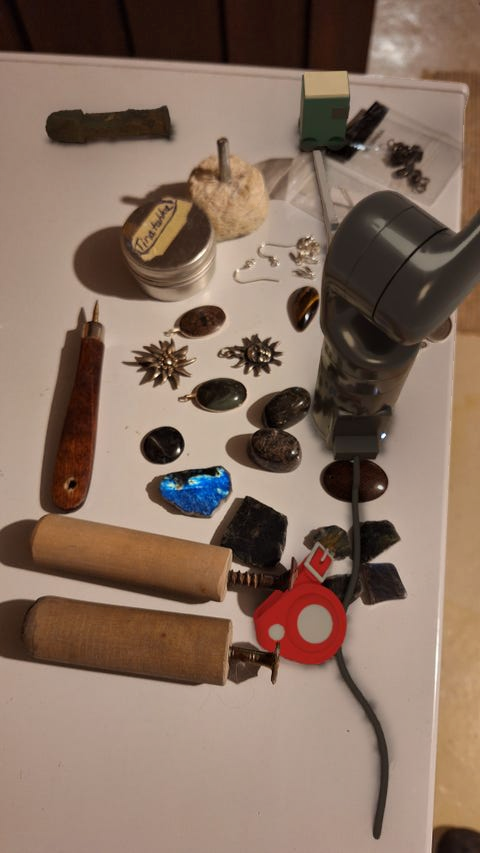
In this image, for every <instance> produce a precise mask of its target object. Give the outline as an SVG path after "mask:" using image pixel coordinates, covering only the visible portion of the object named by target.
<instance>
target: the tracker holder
mask: <svg viewBox="0 0 480 853" xmlns="http://www.w3.org/2000/svg"><path fill="white" fill-rule="evenodd" d="M329 551H330V549H329V548H328V547H326V548H325V547H324V546H323V545H322V544H321V543H320V542H319V541H316V542H315V543H314V545H313V547H312V548H311V551H310V552H309V553H308V554H307V555H306V556H305V558H304V559H303V560H302V562H300V564H299V565H298V566H297V567H298V577H297V578H296V580H295V582H294V584H293V588H292V589H291V590H290V591H288V589H287V590H286V591H285V592H284V593H283V592H282V591H280V590H276V589H275V590H274V591H273V592H272V593H271V594H270V595H268V597H267V598H266V599H265V600H264V601H262V602H261V604H259V606H257V608H256V610H255V611H254V612H253V615H252V619H253V620H252V622H253V627H254V633H255V638H256V642H257V644H258V645H259V647H260V648H262V650H265V651H267V652H268V653H270V654H273V653H272V652H274V651H275V648H276V643H277V642H280V653H279V655H278V656H279V657H281V658H283V659H286V660H288V661H290V662H295V663H298V664H304V665H309V666H310V665H312V666H313V665H314V666H315V665H319V664H323V663H325V662H327V661H329V660H331V659H332V658H333V657H334V656H336V655H335V654H336V653H337V651H338V649H339V647H342V645H343V643H344V641H345V638H346V636H347V634H346V633H347V630H348V629H347V628H348V621H347V613H346V614H345V610H344V608H343V605H342V601H341V600H340V599H339V597H338V596H337V595H336V594H335V592H333V591H332V590H330V588H328V587H325V586H323V585H322V583H324V581H325V580H326V578H327V575H328V574H329V572H330V570H331V568H332V566H333V564H334V562H335V558H334V557H333V556H332V555H331V553H330V552H329Z"/></svg>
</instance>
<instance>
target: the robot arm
mask: <svg viewBox="0 0 480 853" xmlns="http://www.w3.org/2000/svg"><path fill="white" fill-rule="evenodd" d="M478 5H479V6H480V2H479V4H478ZM479 283H480V206H479V207H478V209H477V211H476V212H475V214H474V215H473V216H472V217H471V219H470V221H469V222H468V223H466V225H465V226H464V227H463V228H462V229H461V230H460V231H458V232H456V231H454V230H452V229H451V228H450V227H449V226H447V225H446V224H444V223H443V222H442V221H440V220H439V219H437V218H436V217H435V216H433V215H432V214H430V213H429V212H427V211H426V210H425V209H424V208H422V207H421V206H419V205H418V204H417V203H415V202H414V201H413V200H411V199H409V198H408V197H406V196H405V195H404V194H402V193H400V192H398V191H395V190H391V189H384V190H378V191H375V192H372V193H371V194H370V193H369V195H367V196H365V197H363V198H362V199H360V201H358V202H357V203H356V204H355V205H354V206H353V207H351V209H350V210H349V211H348V212H347V213H346V214H345V216H344V217H343V218H342V220H341V221H340V222H339V226H338V228H337V230H336V231H335V234H334V236H333V238H332V240H331V242H330V245H329V247H328V250H327V249H326V253H325V257H324V261H323V267H322V272H321V280H320V300H319V301H320V302H319V317H318V318H319V320H318V321H319V322H318V323H319V327H320V331H321V333H322V335H323V339H322V345H321V350H320V356H319V362H318V368H317V374H316V380H315V387H314V393H313V398H312V402H311V407H310V418H311V422H312V425H313V427H314V429H315V431H316V432H317V433H318V435H319V436H320V437H321V438H322V439H323V440H324V441H325V448H326V449H328V450H332V455H333V461H352V474H353V476H352V477H353V478H352V487H351V514H352V530H353V531H352V532H353V555H352V556H353V558H352V568H351V575H350V578H349V581H348V582H349V583H348V585H347V589H346V592H345V594H344V597H343V600H342V601H341V603H342V605H343V608H344V610H345V614H346V615H347V612H348V609H349V606H350V603H351V600H352V598H353V595H354V592H355V590H356V586H357V584H358V578H359V574H360V568H361V567H360V566H361V526H360V525H361V524H360V513H359V512H360V511H359V510H360V509H359V489H360V488H359V487H360V483H361V464H360V461H376V459H377V457H378V455H379V454H380V444H381V442H382V439H384V438H385V437H386V431H387V428H388V427H389V424H390V421H391V419H392V417H393V411H394V409H395V406H396V404H397V403H398V400H399V397H400V395H401V392H403V391H402V390H403V388H404V385H405V383H406V381H407V380H408V377H409V374H410V373H411V370H412V368H413V366H414V364H415V362H416V359H417V357H418V356H419V352H420V350H421V348H422V344H423V341H424V340H425V339H427V338H428V337H429V336H431V335H432V334H433V333H434V332H436V330H437V329H439V328H440V327H441V326H442V325H443V324H444V323H445V322H446V321H447V320H448V319H449V318H450V317H451V315H453V314H454V312H455V311H456V310H457V309H458V308H459V307H460V305H461V304H462V303H463V302H464V301H465V299H466V298H467V297H468V296H469V295H470V294H471V292H472V291H473V290H474V289H475V288H476V287H477V285H478V284H479ZM342 649H343V648H342V646H341V647H339V649H338V651H337V653H336V654H335V655H334V656H335V660H336V663H337V666H338V670H339V672H340V674H341V677H342V678H343V680H344V682H345V684H346V685H347V687H348V688H349V690H350V691H351V693H352V694H353V696H354V697H355V699H356V700H357V701H358V703H359V705H360V706H361V708H362V709H363V711H364V712H365V714H366V716H367V717H368V719H369V721H370V723H371V725H372V727H373V730H374V732H375V735H376V740H377V743H378V748H379V755H380V781H379V790H378V798H377V804H376V809H375V815H374V821H373V829H372V837H373V839H374V840H376V841H378V840H380V838H381V836H382V830H383V823H384V816H385V811H386V804H387V798H388V790H389V779H390V777H389V776H390V762H389V752H388V751H389V750H388V746H387V741H386V736H385V733H384V731H383V728H382V725H381V722H380V720H379V718H378V716H377V715H376V712H375V711H374V710H373V708H372V706H371V705H370V703H369V702H368V700H367V699H366V697H365V696H364V694H363V693H362V692H361V690H360V689H359V687H358V686H357V684H356V682H355V681H354V680H353V678H352V676H351V674H350V672H349V671H348V668H347V665H346V662H345V659H344V655H343V650H342Z"/></svg>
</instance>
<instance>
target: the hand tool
mask: <svg viewBox="0 0 480 853" xmlns="http://www.w3.org/2000/svg"><path fill="white" fill-rule="evenodd" d="M171 125H172V124H171V116H170V111H169V107H168V105H166V104H165V105H162V106H160V107H156V108H146V109H145V108H143V109H134V108H128V109H126V110H120V111H109V112H108V111H107V112H91V113H90V112H86V113H84V111H83V110H82V109H80V108H79V109H78V108H75V109H61V110H58V111H53V112H51V113H50V114H49V115H48V116H47V117H46V119H45V126H44V130H45V133H46V135H47V137H48V138H49V139H50V140H53V141H58V142H68V143H80V144H81V143H82V144H83V143H86V142H87V140H88V139H95V138H96V139H97V138H102V139H103V138H110V139H111V138H118V137H136V136H152V135H164V136H165V137H167V138H168V139H169V138H170V137H171Z"/></svg>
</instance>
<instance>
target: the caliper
mask: <svg viewBox="0 0 480 853" xmlns="http://www.w3.org/2000/svg"><path fill="white" fill-rule="evenodd" d="M312 156H313V164H314V170H315V173H316V179H317V184H318V189H319V194H320V198H321V203H322V208H323V220H324V225H325V227H326V251H327V250H328V247H329V245H330V242H331V240H332V238H333V236H334V234H335V231H336V230H337V228H338V226H339V225H340V222H339V216H336V210H335V208H334V207H335V206H334V202H333V199H332V197H331V196H332V195H331V193H330V187H329V183H328V178H327V173H326V169H325V164H324V160H323V155H322V151H321V150H320V149H319V150H313V151H312Z"/></svg>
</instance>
